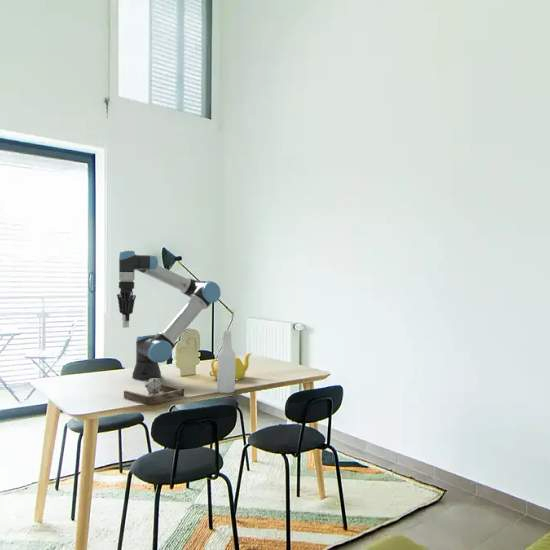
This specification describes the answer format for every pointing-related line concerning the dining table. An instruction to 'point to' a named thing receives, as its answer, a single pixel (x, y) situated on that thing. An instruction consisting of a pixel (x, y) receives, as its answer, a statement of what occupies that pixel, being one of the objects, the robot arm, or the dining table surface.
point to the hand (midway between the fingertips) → (125, 327)
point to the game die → (154, 385)
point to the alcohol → (226, 365)
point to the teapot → (239, 367)
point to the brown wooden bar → (169, 394)
